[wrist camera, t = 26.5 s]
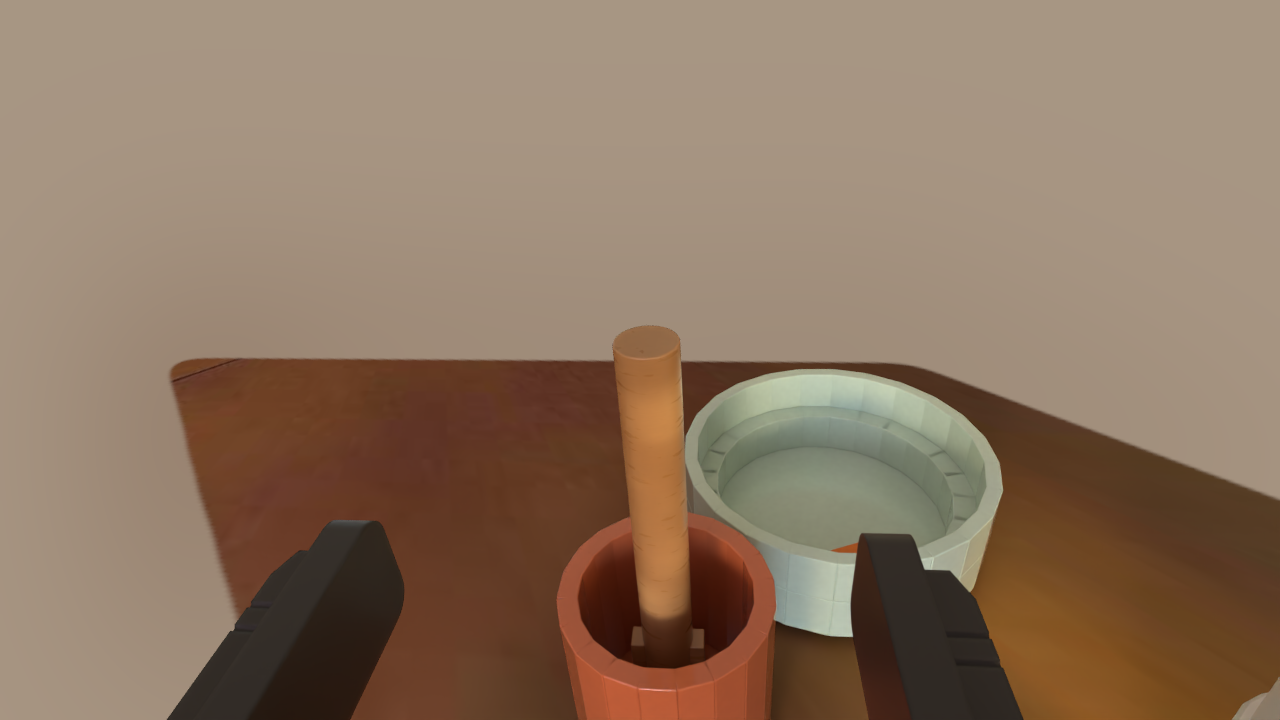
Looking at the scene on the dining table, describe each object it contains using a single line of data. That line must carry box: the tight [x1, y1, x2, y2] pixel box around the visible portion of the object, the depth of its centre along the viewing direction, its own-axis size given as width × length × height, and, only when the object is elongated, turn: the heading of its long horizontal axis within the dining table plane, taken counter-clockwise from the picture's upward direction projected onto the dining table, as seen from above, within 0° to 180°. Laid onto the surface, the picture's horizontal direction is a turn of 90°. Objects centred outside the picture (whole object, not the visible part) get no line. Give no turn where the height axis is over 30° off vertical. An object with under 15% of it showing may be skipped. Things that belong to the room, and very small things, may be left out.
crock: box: [556, 512, 777, 720], centre depth 30 cm, size 9×9×9 cm
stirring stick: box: [612, 326, 705, 669], centre depth 27 cm, size 3×2×20 cm
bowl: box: [685, 369, 1003, 637], centre depth 41 cm, size 18×18×6 cm
